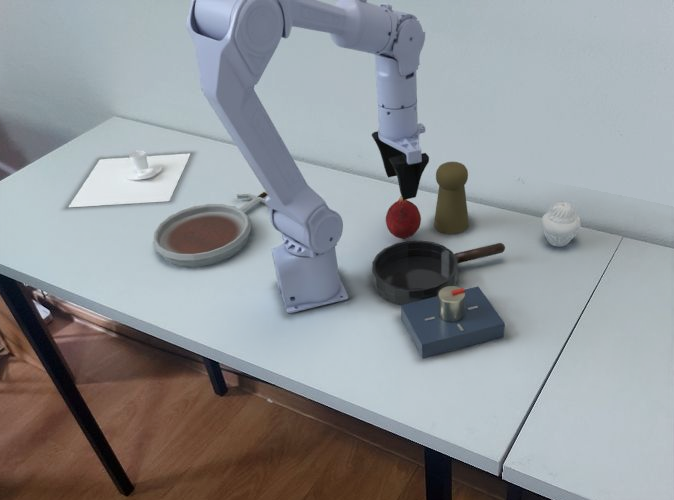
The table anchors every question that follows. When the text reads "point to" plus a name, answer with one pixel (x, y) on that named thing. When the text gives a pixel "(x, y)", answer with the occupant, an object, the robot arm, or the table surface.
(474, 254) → the skillet handle
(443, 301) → the knob
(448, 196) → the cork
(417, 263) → the skillet
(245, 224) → the frying pan
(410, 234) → the red pomegranate
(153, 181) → the teacup and saucer
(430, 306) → the blue control panel
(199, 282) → the table surface
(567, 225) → the muffin
